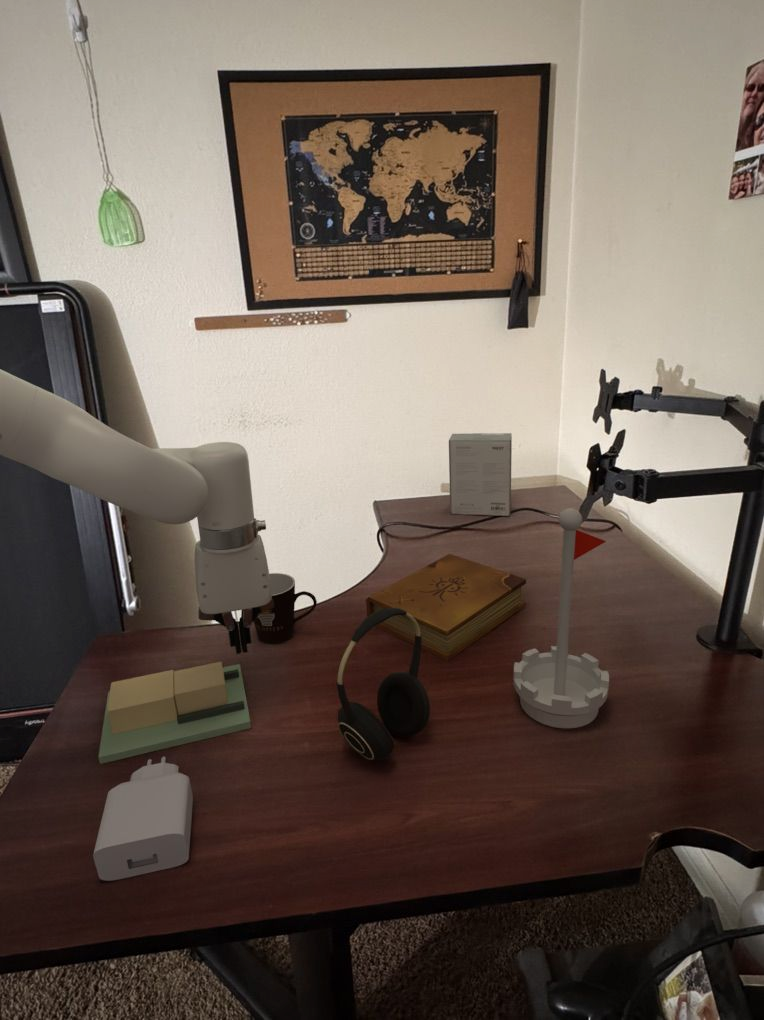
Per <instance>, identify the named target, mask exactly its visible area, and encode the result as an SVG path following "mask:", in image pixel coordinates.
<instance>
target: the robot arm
mask: <svg viewBox="0 0 764 1020" xmlns="http://www.w3.org/2000/svg"><path fill="white" fill-rule="evenodd" d="M0 456H2V457H5V458H7V459H10V460H11V461H14V462H17V463H20V464H22V465H25V466H27V467H30V468H31V469H34V470H36V471H38V472H40V473H42V474H44V475H46V476H48V477H50V478H52V479H54V480H58V481H59V482H62V483H65V484H67V485H69V486H71V487H73V488H76V489H79V490H81V491H83V492H84V493H87V494H88V495H91V496H93V497H95V498H98V499H100V500H103V501H105V502H107V503H109V504H112V505H114V506H116V507H119V508H121V509H124V510H126V511H129V512H132V513H134V514H137V515H140V516H143V517H145V518H148V519H151V520H152V521H156V522H159V523H162V524H166V525H183V524H187V523H188V522H191V521H193V520H194V519H196V518H197V526H198V533H199V540H198V541H196V543H195V546H194V572H195V573H194V574H195V586H196V595H197V602H198V611H197V614H198V615H197V616H198V617H197V618H198V620H200V621H209V622H210V621H211V622H213V621H214V622H216V623H218V624H220V625H221V626H222V627H224V628H225V629H226V630H227V631H228V638H229V646H230V648H233V647H235V653H236V655H241V654H242V653H244V654H247V653H248V645H250V644H252V637H251V627H252V625H253V623H254V620H255V618H256V617H257V616H258V615H259V614H260V613H261V612H264V611H267V610H269V609H272V608H274V602H273V599H272V593H271V583H270V576H269V574H270V570H269V565H268V559H267V554H266V550H265V545H264V542H263V539H262V536H261V535H260V534H259V532H261V531H265V530H267V524H266V520H260V519H257V518H256V517H255V512H254V501H253V491H252V482H251V472H250V461H249V454H248V451H247V449H246V448H245V447H244V446H243V445H242V444H240V443H237V442H231V441H216V442H209V443H204V444H201V445H199V446H196V447H195V446H194V447H175V448H174V447H168V448H167V447H161V448H159V447H158V448H151V447H148V446H147V445H144V444H142V443H140V442H138V441H137V440H134V439H133V438H130V437H129V436H127V435H125V434H123V433H120V432H119V431H117V430H116V429H114V428H112V427H110V426H108V425H107V424H106V423H104V422H103V421H100V420H99V419H98V418H96V417H94V416H93V415H92V414H90V413H89V412H87V411H86V410H84V408H82V407H80V406H78V405H76V404H75V403H73V402H71V401H70V400H67V399H65V398H64V397H61V396H59V395H57V394H55V393H53V392H50V391H49V390H46V389H45V388H43V387H39V386H37V385H36V384H33V383H31V382H28V381H26V380H24V379H22V378H21V377H17V376H16V375H14V374H12V373H9V372H7V371H5V370H3V369H1V368H0ZM237 611H240V613H241V614H240V618H239V620H238V621H237V619H236V618H234V616H233V612H237Z"/></svg>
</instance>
